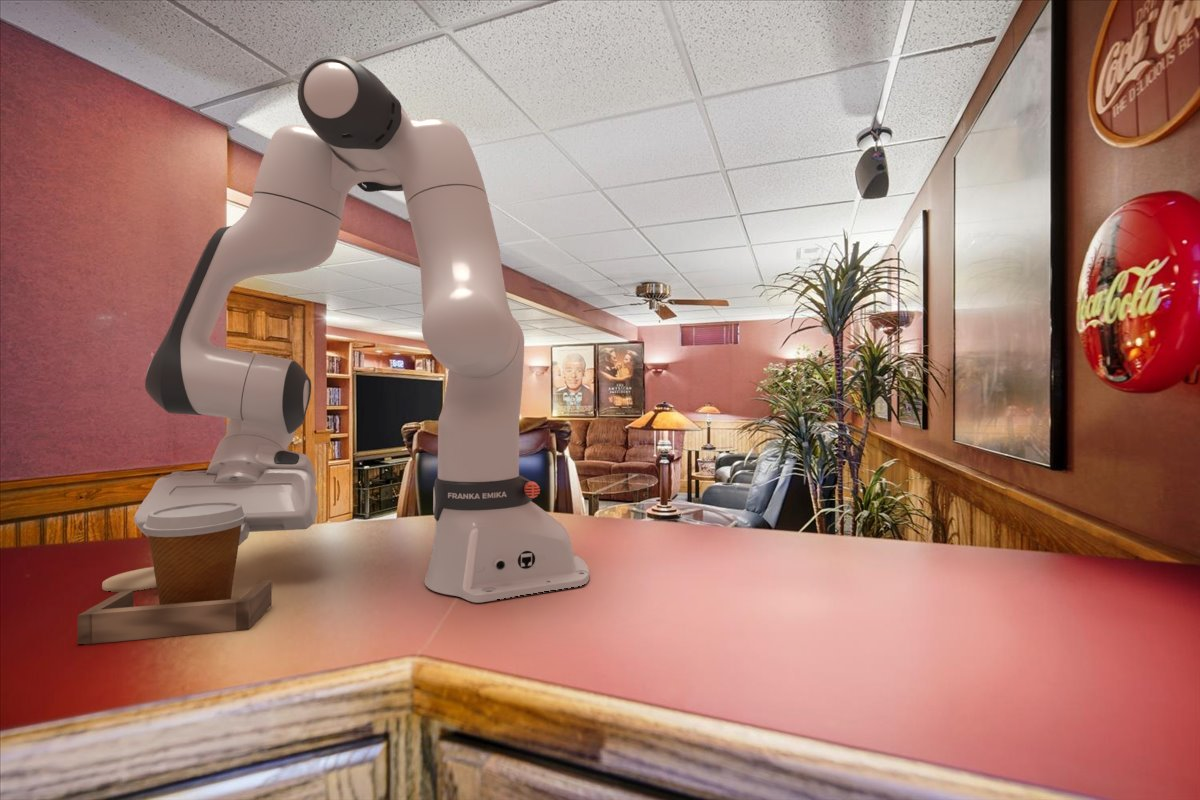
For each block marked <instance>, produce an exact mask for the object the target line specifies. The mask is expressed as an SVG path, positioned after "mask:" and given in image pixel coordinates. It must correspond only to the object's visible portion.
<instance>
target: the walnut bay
mask: <svg viewBox="0 0 1200 800" xmlns="http://www.w3.org/2000/svg"><path fill="white" fill-rule="evenodd" d="M272 582H273V581H272V580H262V581H261V580H259V582H258V583H257V584H256V585H255V586H253V587H252V588H251V589H250V590H249V591H248V592H247V593H245V594H244V595H243V596H241V598H233V599H232V598H231V599H228V600H216V601H203V602H190V603H177V604H164V605H160V604H155V605H154V604H152V605H142V606H141V605H140V606H139V605H138V606H134V591H121V592H116V594H114V595H112V596H109V597H108V598H106V599H104V600H102V601H101V602H99V603H97V604H95V605H94V606H92V607H90V608H88V609H86V610H85V611H82V612H81V613H79V614H78V615H77V644H84V645H93V644H103V643H115V642H125V641H128V642H129V641H136V640H146V639H147V640H148V639H158V638H169V637H181V636H182V637H183V636H191V635H201V634H202V635H203V634H213V633H222V632H223V633H224V632H235V631H244V630H246V631H247V630H250V629H251V628H252V627H253V626H254V625H255V623H257V621H258V620H260V618H261V617H262V616H263V615H264V614H265V613H266V612H267V611H268V610H269V609H270V608H271V607H272V606H271V605H272V601H273V600H272V597H273V596H272V592H273V591H272V590H273V589H272V584H273V583H272ZM270 606H271V607H270ZM269 607H270V608H269ZM268 608H269V609H268ZM267 609H268V610H267Z"/></svg>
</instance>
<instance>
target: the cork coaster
mask: <svg viewBox="0 0 1200 800" xmlns="http://www.w3.org/2000/svg"><path fill="white" fill-rule="evenodd" d="M150 588H151V589H155V588H156V589H157V585H156V579H155V573H154V566H150V567H144V568H143V567H142V568H139V569H134V570H129V571H125V572H121V573H118V574H115V575H113V576H110V577H108V578H106V579H105V580H103V581H102V585H101V589H102V590H103V591H105V592H108V591H111V592H110V593H119V592H121V591H133V592H136V591H137V590H139V591H142V590H143V591H145V590H151V589H150ZM144 589H145V590H144ZM137 592H138V591H137Z"/></svg>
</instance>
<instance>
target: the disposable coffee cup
mask: <svg viewBox="0 0 1200 800" xmlns="http://www.w3.org/2000/svg"><path fill="white" fill-rule="evenodd" d="M245 518H246V514H245V513H243V509H242V505H241V504H239V503H233V502H208V503H195V504H186V505H179V506H173V507H167V508H163V509H159V510H156V511H153V512H151V513H149V515H148V519H147V522H146V524H144V525H143V529H145V530H146V534H147V535H148V536H149V537H148V536H147V537H148V541H149V547H150V548H149V549H150V551H151V552H150V553H151V558H152V559H151V561H152V565H153V566H152V567H154V573H155V579H156V585H157V587H156V592H157V596H158V603H159V604H158V605H164V604H177V603H190V602H203V601H216V600H228V599H232V598H231V597H232V592H233V585H234V580H235V579H234V578H235V571H236V564H237V559H238V553H239V551H238V550H239V546H240V545H239V539H240V532H241V525H242V524H243V522H244V519H245Z"/></svg>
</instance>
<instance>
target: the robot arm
mask: <svg viewBox="0 0 1200 800" xmlns="http://www.w3.org/2000/svg"><path fill="white" fill-rule="evenodd" d="M297 102H298V106H299V109H300V111H301V113H302V116H303V117H304V119H305V120H306V122H307V124H308V126H306V125H300V124H299V125H298V124H290V125H284V126H282V127H279V128H278V129H277V130H275V132H274V133H273V135H272V136H271V138H270V141H269V142H268V145H267V147H266V150H265V152H264V155H263V157H262V159H261V162H260V166H259V169H258V172H257V175H256V178H255V182H254V188H253V190H252V191H253V192H252V196H251V200H250V203H249V205H248V208H247V209H246V211H245V212H244V213H243V215H242V216H241V217H240V219H238V220H237V221H236V222H235V223H234V224H233V225H229V226H223V227H219V228H218V229H217V230H216V231H215V232H214V233H213V235H212V236H211V237H210V239H209V240H208V242H207V243H206V245H205V248H204V249H203V251H202V253H201V255H200V257H199V259H198V262H197V264H196V266H195V268H194V270H193V272H192V274H191V277H190V279H189V282H188V284H187V287H186V289H185V291H184V294H183V296H182V298H181V300H180V302H179V305H178V307H177V310H176V312H175V314H174V316H173V318H172V321H171V323H170V326H169V327H168V329H167V332H166V334H165V335H164V338H163V339H162V341H161V343H160V344H159V347H158V348H157V350H156V352H155V353H154V356H153V358H152V359H151V361H150V363H149V365H148V368H147V370H146V375H145V382H144V387H145V391H146V393H147V394H148V395H149V397H150V398H151V399H152V400H153V401H154V402H155V403H156V404H157V405H158V406H159V407H160V408H162V409H163V410H164V411H166V412H167V413H168V414H175V415H176V414H178V415H191V416H202V415H203V416H211V417H218V418H225V419H228V421H227V424H226V434H225V436H224V437H222V438H221V440H220V441H219V442H218V445H217V447H216V450H215V451H214V452H213V453H214V454H213V456H212V458H211V460H210V463H209V465H208V467H207V470H192V471H183V470H181V471H180V470H179V471H172V472H171V474H167V475H164V476H162V477H159V478H158V479H157V480H155V482H154V484H153V486H152V488H151V490H150V491H149V492H148V494H147V495H146V497H144V499H143V501H142V502H141V503H140V505H139V507H138V508H137V510H136V512H135V514H134V515H133V521H134V524H135V525H136V527H137V528H138V529H139V530H140V532H141V533H142V534H144V536H146V537H148V538H149V536H148V535H147V534H146V530H145V529H143V525H144V524H146V522H147V519H148V515H149V513H151V512H153V511H156V510H159V509H163V508H167V507H173V506H179V505H186V504H195V503H208V502H233V503H239V504H241V505H242V509H243V513H245V514H246V518H245V519H244V522H243V524H242V525H241V532H240V539H239V546H240V545H242V544H243V543H244V542H245V541H246V540H247V539H248V538H249V535H250V533H257V532H274V531H275V532H276V531H278V532H279V531H297V530H300V531H301V530H307V529H309V528H310V527H311V526H313V525H314V524H315V522H316V519H317V514H318V505H319V504H318V503H319V497H318V493H317V489H316V486H317V477H316V471H315V468H314V466H313V463H312V461H311V459H310V457H309V455H307V454H305V453H301V452H297V451H292V450H288V447H289V446H290V445H291V443H292V442H293V440H294V438H295V434H296V431H297V430H298V429H299V428H300V427H301V426H302V425H303V424H304V420H305V417H306V414H307V410H308V407H309V404H310V399H311V396H312V395H311V394H312V381H311V378H310V377H309V375H308V373H306V371H305V369H304V368H303V367H302V366H301V365H300V363H298V361H296V360H293V359H289V358H284V357H279V356H275V355H269V354H265V353H259V352H258V353H257V352H256V353H255V352H251V351H245V350H238V349H232V348H227V347H223V346H218V345H216V344H213V343H212V342H211V341H210V340H211V336H212V334H213V331H214V329H215V328H216V324H217V322H218V320H219V317H220V315H221V313H222V310H223V308H224V306H225V303H226V301H227V299H228V297H229V294H230V293H231V291H232V290H233V288H234V287H235V286H236V285H237V284H239V283H240V282H243V281H244V280H247V279H250V278H253V277H258V276H266V275H267V276H268V275H278V274H280V275H281V274H290V273H291V274H292V273H297V272H298V273H301V272H304V271H307V270H311V269H314V268H316V267H318V266H320V265H322V264H323V263H324V262H326V261H327V260H329V258H330V257H331V256H332V254H334V253H333V252H334V249H335V247H336V245H337V241H338V239H339V238H338V237H339V235H340V231H341V225H342V220H343V215H344V209H345V204H346V199H347V196H348V195H349V192H350V190H351V189H353V187H355V186H357V187H359V188H360V189H361V190H362V191H364V192H366V193H374V192H381V191H382V192H383V191H385V192H403V196H404V200H405V204H406V209H407V212H408V217H409V222H410V226H411V230H412V234H413V235H412V236H413V239H414V243H415V247H416V251H417V257H418V262H419V268H420V283H421V300H422V301H421V302H422V310H423V312H422V313H423V315H422V321H421V333H422V338H423V341H424V343H425V345H426V347H427V349H428V350H429V352H430V354H431V355H432V356H433V357H434V358H435V360H436V361H437V362H438V363H439V364H440V365H441V366H442V367H444V368H445V369H446V370H447V371H448V374H447V380H446V386H445V387H446V388H445V393H444V397H443V398H444V399H443V405H442V408H441V410H440V411H441V412H440V415H439V417H438V421H437V476H436V477H435V480H434V485H433V490H432V491H433V495H432V498H433V500H432V501H433V502H432V504H433V506H432V510H433V511H432V512H433V516H434V520H435V529H434V536H433V544H432V548H431V556H430V560H429V564H428V567H427V572H426V575H425V578H424V581H423V582H424V585H425V586H426V587H427V589H429V590H431V591H433V592H436V593H439V594H443V595H447V596H453V597H454V596H455V597H459V598H462V599H464V600H466V601H468V602H472V603H476V604H478V603H485V602H493V601H498V600H497V599H500V600H505V599H504V598H506V599H511V598H510V597H512V598H515V597H514V596H518V597H521V596H520V595H524V596H526V595H525V594H531V595H534V594H533V593H537V594H539V593H538V592H543V593H545V592H544V591H549V592H551V591H550V590H556V589H562V590H565V589H564V588H568V589H572V588H571V587H574V588H578V586H580V587H583V586H582V585H584V584H585V585H586V584H588V582H589V581H590V569H589V566H588V565H587V563H586V562H585V560H583V559H582V558H581V557H580V556H578V555H576V554H574V549H573V543H572V540H571V537H570V534H569V531H567V529H566V528H565V526H564V525H563V524H562V523H561V522H559V521H558V520H557V519H556V518H555V517H553V515H551V514H549V513H548V512H547V511H546V510H544V509H543V508H542V507H540V506H539V505H538V504H536V503H535V502H533V499H535V498H537V497H538V495H540V491H541V489H540V486H539V484H538V483H537V482H535V481H532V480H530V479H528V478H526V477H525V476H522V475H520V415H521V405H522V392H523V378H524V361H525V360H524V359H525V336H524V332H523V329H522V327H521V326H520V325H521V324H520V323H519V322H518V321H517V320H516V318H515V317H514V316H513V314H512V311H511V309H510V306H509V302H508V301H509V300H508V296H507V291H506V285H505V280H504V275H503V273H504V272H503V267H502V259H501V250H500V246H499V242H498V241H499V240H498V237H497V233H496V229H495V228H496V227H495V224H494V219H493V215H492V212H491V207H490V203H489V198H488V194H487V190H486V187H485V183H484V180H483V175H482V173H481V170H480V168H479V167H480V166H479V164H478V161H477V159H476V156H475V154H474V152H473V149H472V147H471V145H470V142H469V141H468V138H467V136H466V134H465V133H464V131H462V130H461V128H459V126H457V125H456V124H455V123H453V122H451V121H449V120H446V119H443V118H442V119H441V118H434V117H432V118H431V117H430V118H425V119H423V118H422V119H414V118H411V117H409V115H408V113H407V112H406V110H405V109H404V107H403V106H402V104H401V102H400V100H399V99H398V97H396V96H395V95H394V94H393V93H392V92H391V90H389V88H387V86H386V85H385V84H384V83H383V82H382V81H381V79H379V78H378V76H376V75H375V73H373V72H372V71H370V70H369V69H367V68H366V67H365V66H363V65H362V64H361V63H359V62H357V61H355V60H354V59H351V58H349V57H347V56H345V55H344V56H343V55H335V54H334V55H326V56H324V57H323V56H322V57H320V58H319V59H317V60H315V61H314V62H312V63H311V64H309V66H308V67H307V68H306V69H305V70H304V72H303V73H302V74H301V77H300V80H299V83H298V87H297ZM585 585H584V586H585ZM556 591H557V590H556Z"/></svg>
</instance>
